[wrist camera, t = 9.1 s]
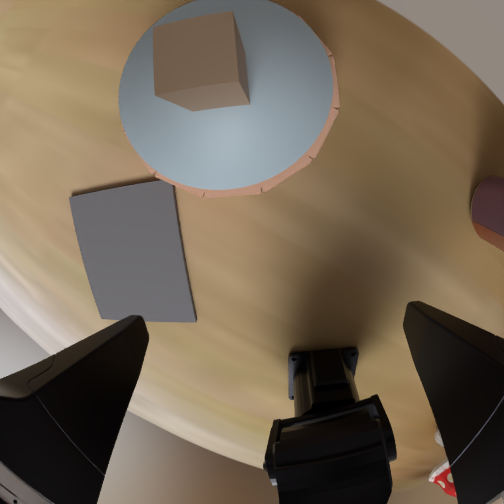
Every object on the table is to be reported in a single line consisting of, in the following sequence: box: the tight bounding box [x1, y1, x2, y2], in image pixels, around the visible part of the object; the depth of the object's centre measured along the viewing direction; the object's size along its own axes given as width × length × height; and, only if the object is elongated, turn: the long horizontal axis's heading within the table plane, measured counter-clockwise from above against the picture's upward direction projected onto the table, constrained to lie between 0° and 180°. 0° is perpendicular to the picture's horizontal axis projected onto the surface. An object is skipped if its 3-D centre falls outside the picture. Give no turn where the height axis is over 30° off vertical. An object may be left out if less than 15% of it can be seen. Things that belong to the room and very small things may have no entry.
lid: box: [119, 0, 333, 190], centre depth 10 cm, size 11×11×6 cm
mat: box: [69, 180, 197, 322], centre depth 22 cm, size 12×10×1 cm
